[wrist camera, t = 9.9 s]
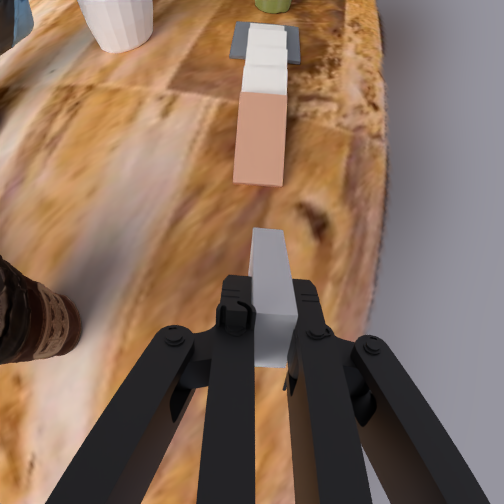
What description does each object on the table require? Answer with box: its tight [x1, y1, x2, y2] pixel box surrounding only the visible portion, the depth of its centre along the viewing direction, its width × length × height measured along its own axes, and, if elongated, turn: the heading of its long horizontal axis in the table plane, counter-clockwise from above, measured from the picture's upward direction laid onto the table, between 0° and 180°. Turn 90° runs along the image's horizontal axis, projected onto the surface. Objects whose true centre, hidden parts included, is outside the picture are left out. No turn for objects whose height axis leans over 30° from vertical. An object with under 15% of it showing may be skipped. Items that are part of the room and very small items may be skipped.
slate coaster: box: [229, 22, 300, 65], centre depth 41 cm, size 10×10×1 cm
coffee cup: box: [0, 255, 81, 365], centre depth 22 cm, size 9×8×13 cm
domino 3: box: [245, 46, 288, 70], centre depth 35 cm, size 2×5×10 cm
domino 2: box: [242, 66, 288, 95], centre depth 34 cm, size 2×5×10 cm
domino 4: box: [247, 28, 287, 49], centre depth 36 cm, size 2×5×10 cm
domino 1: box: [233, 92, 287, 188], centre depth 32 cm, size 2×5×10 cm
